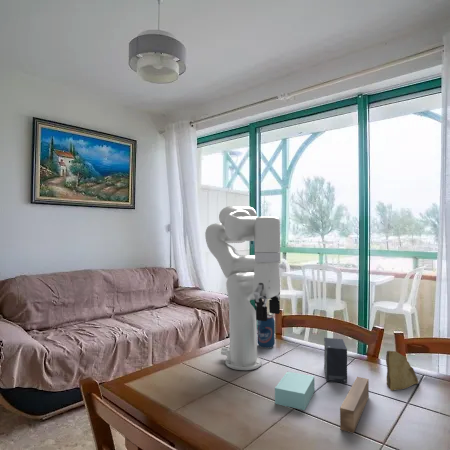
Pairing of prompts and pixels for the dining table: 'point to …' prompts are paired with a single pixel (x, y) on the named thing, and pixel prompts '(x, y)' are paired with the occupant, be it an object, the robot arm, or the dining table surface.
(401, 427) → the dining table surface
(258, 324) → the soda can
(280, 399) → the teal block
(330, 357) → the small box
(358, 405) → the walnut board
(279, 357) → the dining table surface
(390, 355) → the rock
